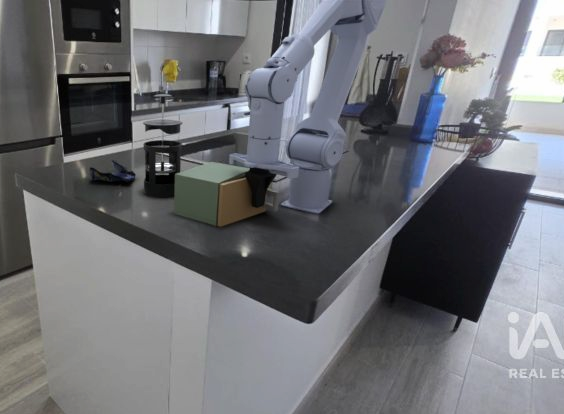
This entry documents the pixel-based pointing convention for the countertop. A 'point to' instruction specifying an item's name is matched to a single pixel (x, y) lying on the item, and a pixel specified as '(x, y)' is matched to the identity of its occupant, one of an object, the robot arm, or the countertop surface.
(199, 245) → the countertop surface
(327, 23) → the robot arm
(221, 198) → the door
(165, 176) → the french press
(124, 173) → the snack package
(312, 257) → the countertop surface
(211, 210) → the cupboard
